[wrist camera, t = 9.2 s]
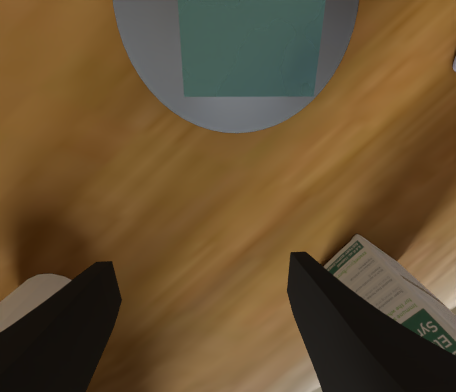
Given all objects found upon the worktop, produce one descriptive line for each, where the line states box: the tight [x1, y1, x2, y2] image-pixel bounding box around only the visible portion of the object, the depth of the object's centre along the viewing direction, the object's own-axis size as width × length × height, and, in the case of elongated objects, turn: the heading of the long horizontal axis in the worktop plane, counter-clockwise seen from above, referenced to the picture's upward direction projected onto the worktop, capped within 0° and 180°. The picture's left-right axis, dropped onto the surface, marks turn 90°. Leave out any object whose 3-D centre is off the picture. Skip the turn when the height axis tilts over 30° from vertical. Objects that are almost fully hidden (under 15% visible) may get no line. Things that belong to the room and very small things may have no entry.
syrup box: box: [323, 234, 456, 355], centre depth 16 cm, size 6×6×14 cm
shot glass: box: [0, 274, 72, 332], centre depth 19 cm, size 7×7×7 cm
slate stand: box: [113, 0, 359, 133], centre depth 14 cm, size 13×13×2 cm
